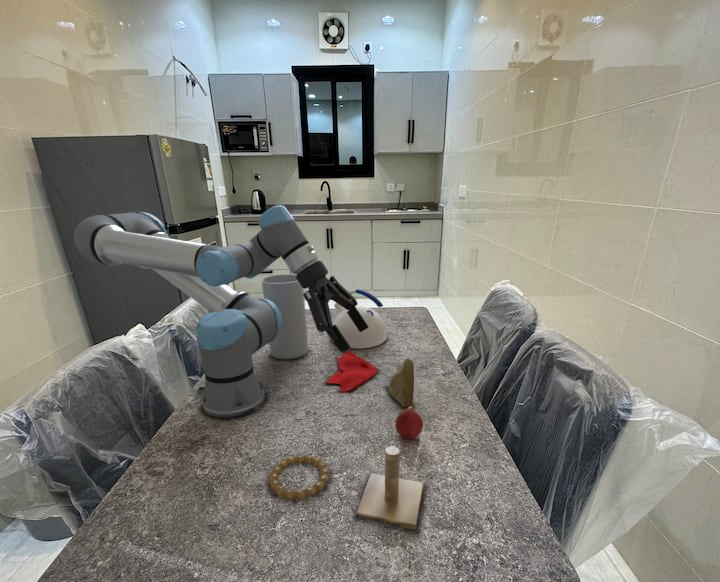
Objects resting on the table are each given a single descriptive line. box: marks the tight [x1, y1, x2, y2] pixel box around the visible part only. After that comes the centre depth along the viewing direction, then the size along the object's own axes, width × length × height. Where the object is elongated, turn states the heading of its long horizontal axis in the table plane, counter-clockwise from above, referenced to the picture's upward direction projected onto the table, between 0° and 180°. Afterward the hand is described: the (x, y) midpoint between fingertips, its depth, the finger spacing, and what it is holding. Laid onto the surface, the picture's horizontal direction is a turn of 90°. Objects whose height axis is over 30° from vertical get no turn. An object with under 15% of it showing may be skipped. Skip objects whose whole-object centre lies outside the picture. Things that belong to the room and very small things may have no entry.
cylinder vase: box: [261, 273, 309, 360], centre depth 123 cm, size 12×12×25 cm
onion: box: [394, 406, 424, 440], centre depth 83 cm, size 6×6×8 cm
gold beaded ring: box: [268, 454, 330, 500], centre depth 73 cm, size 11×11×2 cm
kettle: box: [332, 288, 388, 350], centre depth 136 cm, size 20×21×18 cm
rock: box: [387, 358, 415, 408], centre depth 99 cm, size 11×9×10 cm
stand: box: [355, 445, 424, 531], centre depth 65 cm, size 10×10×11 cm
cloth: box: [326, 350, 378, 393], centre depth 115 cm, size 26×14×2 cm, turn 171°
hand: (355, 339), depth 97 cm, fingers open, 13 cm apart
